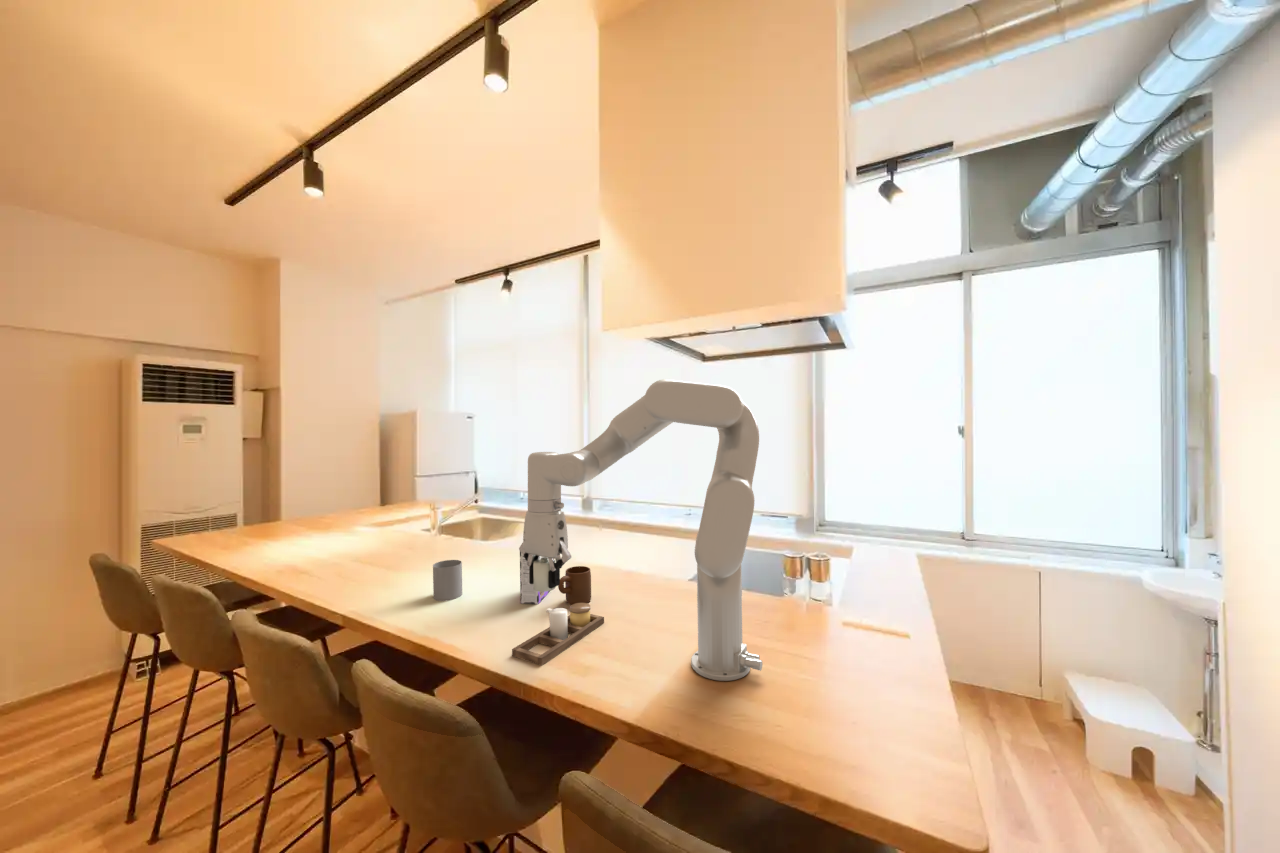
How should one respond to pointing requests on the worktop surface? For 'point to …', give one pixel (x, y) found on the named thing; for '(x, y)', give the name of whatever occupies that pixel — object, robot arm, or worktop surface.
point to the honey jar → (580, 614)
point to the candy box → (528, 585)
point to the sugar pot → (541, 575)
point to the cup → (447, 580)
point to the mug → (576, 585)
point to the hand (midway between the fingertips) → (544, 583)
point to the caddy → (554, 641)
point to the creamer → (558, 623)
